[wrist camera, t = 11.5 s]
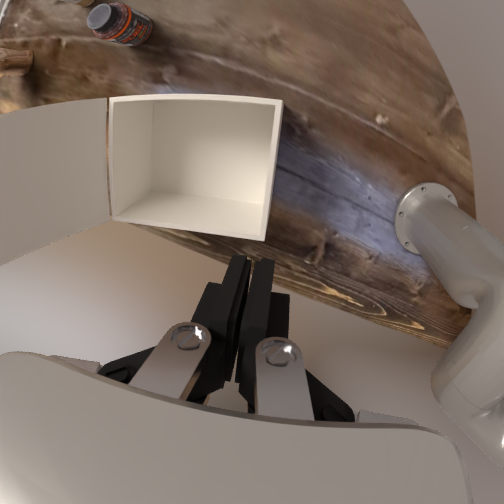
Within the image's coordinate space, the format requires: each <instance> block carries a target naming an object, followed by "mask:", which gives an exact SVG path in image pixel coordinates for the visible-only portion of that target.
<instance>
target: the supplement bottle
mask: <svg viewBox="0 0 504 504" xmlns="http://www.w3.org/2000/svg"><path fill="white" fill-rule="evenodd" d="M87 25H88V27H89V28H90V29H92V30H93V32H94V34H95V35H96V36H97V37H98V38H101V39H104V40H108V41H112V42H116V43H119V44H122V45H126V46H137V45H139V44H141V43H143V42H144V41H145V40H146V39H147V38H148V37H149V35H150V34H151V31H152V27H153V25H152V21H151V20H150V18H149V17H147V16H146V15H144V14H142V13H140V12H138V11H136V10H135V9H133V8H131V7H129V6H127V5H125V4H122V3H111V4H100V5H98V6H96V7H95V8H94V9H93V10H92V11H91V12H90V14H89V16H88V19H87Z"/></svg>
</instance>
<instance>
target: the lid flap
mask: <svg viewBox="0 0 504 504" xmlns="http://www.w3.org/2000/svg"><path fill="white" fill-rule="evenodd" d="M106 106H107V98H99V99H88V100H79V101H70V102H63V103H56V104H49V105H43V106H38V107H32V108H27V109H22V110H18V111H13V112H9V113H5V114H0V266H2V265H4V264H6V263H8V262H10V261H12V260H15V259H17V258H19V257H21V256H23V255H26V254H28V253H30V252H33V251H35V250H37V249H39V248H42V247H44V246H46V245H49V244H51V243H54V242H56V241H58V240H61V239H63V238H66V237H68V236H71V235H74V234H76V233H79V232H81V231H84V230H86V229H89V228H92V227H94V226H97V225H100V224H103V223H105V222H108V221H110V214H109V203H108V189H107V170H106Z"/></svg>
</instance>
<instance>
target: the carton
mask: <svg viewBox="0 0 504 504" xmlns="http://www.w3.org/2000/svg"><path fill="white" fill-rule="evenodd" d="M283 108H284V103H283V101H282V100H275V99H266V98H257V97H245V96H232V95H212V94H155V95H136V96H122V97H112V98H110V103H109V176H110V194H111V207H112V219H113V220H114V221H122V222H129V223H136V224H144V225H152V226H159V227H166V228H174V229H181V230H188V231H195V232H203V233H210V234H217V235H224V236H231V237H238V238H245V239H252V240H259V241H264V240H265V235H266V229H267V224H268V219H269V214H270V209H271V201H272V194H273V186H274V179H275V171H276V163H277V156H278V148H279V140H280V132H281V124H282V116H283Z"/></svg>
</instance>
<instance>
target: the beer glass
mask: <svg viewBox="0 0 504 504" xmlns="http://www.w3.org/2000/svg"><path fill="white" fill-rule="evenodd" d="M32 63H33V52H32V50H30V49H25V50H20V51H14V50H10V49H5V48H0V78H1V77H4V76H7V75H19V76H23V75H25V74H26V73H27V72H28V71H29V70H30V68H31V66H32Z"/></svg>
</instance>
